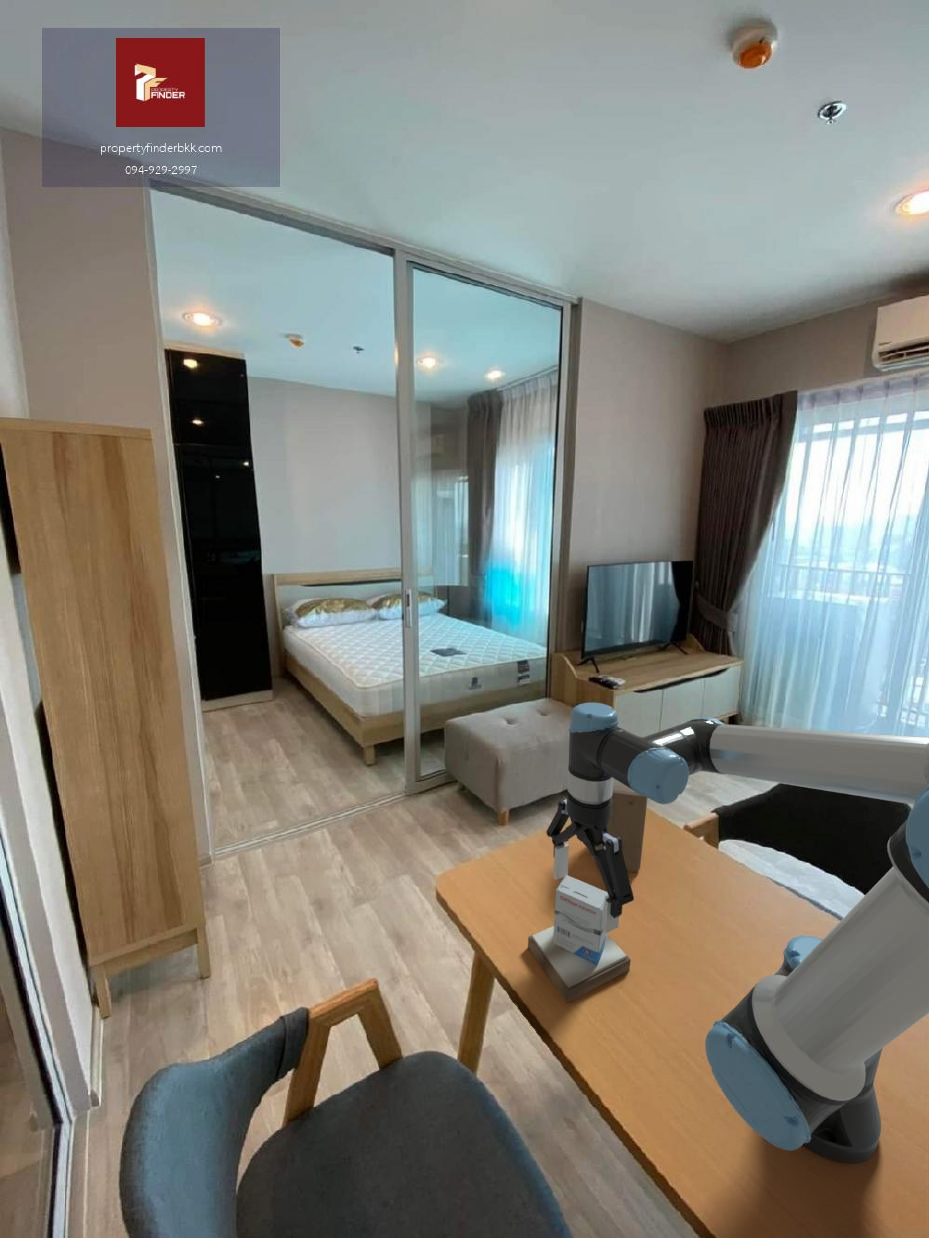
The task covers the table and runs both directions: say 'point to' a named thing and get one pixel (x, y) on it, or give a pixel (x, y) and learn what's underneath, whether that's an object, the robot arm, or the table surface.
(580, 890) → the ink box
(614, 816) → the wooden block
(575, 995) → the stand
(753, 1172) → the table surface
